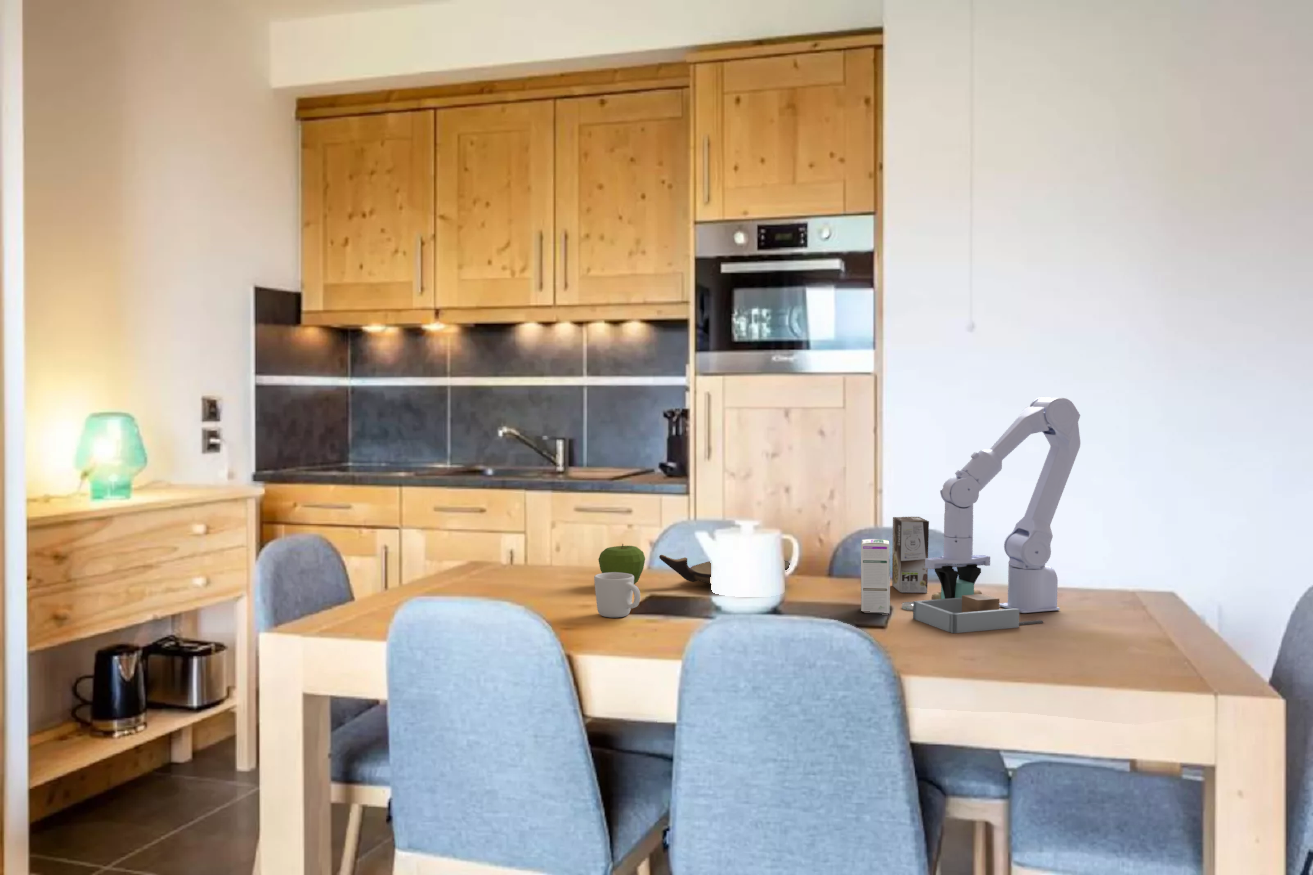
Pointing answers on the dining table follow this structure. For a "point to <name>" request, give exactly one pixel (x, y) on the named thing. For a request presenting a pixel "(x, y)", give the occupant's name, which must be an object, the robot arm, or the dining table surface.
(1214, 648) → the dining table surface
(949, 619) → the tray
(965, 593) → the green block
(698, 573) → the oil lamp
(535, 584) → the dining table surface
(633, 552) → the apple
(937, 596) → the dowel
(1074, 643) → the dining table surface
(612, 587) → the cup
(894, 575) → the coffee box
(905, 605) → the washer
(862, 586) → the syrup box
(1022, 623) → the strips
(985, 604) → the cube
